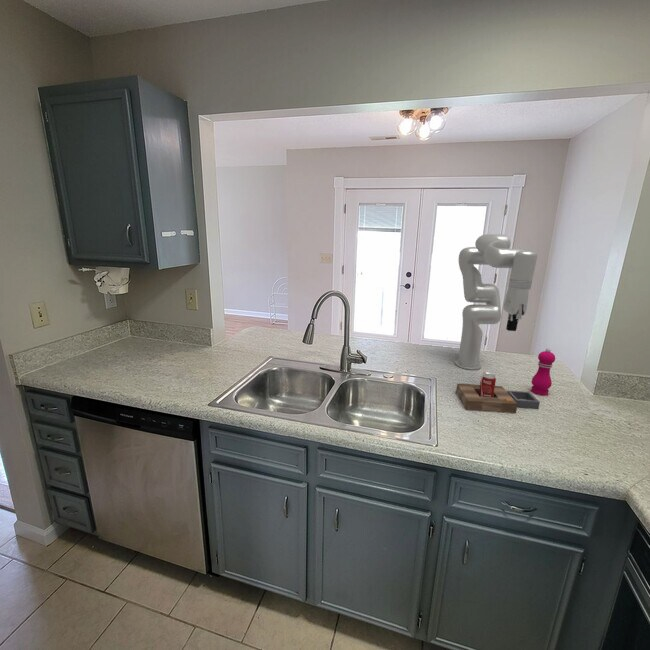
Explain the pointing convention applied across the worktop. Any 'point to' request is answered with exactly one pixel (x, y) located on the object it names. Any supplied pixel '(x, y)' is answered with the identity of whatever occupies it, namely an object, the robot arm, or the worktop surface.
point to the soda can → (487, 385)
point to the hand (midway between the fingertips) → (511, 330)
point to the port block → (486, 399)
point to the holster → (528, 403)
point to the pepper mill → (543, 373)
